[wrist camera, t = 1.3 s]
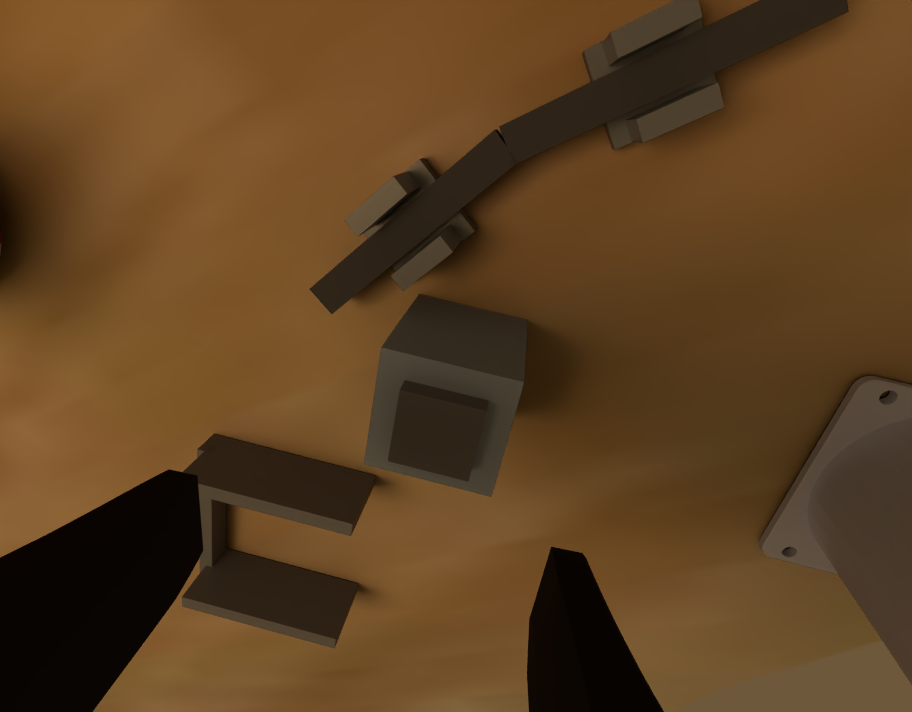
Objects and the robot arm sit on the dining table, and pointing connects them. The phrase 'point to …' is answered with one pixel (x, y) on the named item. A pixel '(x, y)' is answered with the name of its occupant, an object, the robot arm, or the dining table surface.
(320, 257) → the dining table surface
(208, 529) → the end holder
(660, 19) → the clip
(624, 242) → the dining table surface
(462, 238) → the clip
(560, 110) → the cable
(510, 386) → the block
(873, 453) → the robot arm
